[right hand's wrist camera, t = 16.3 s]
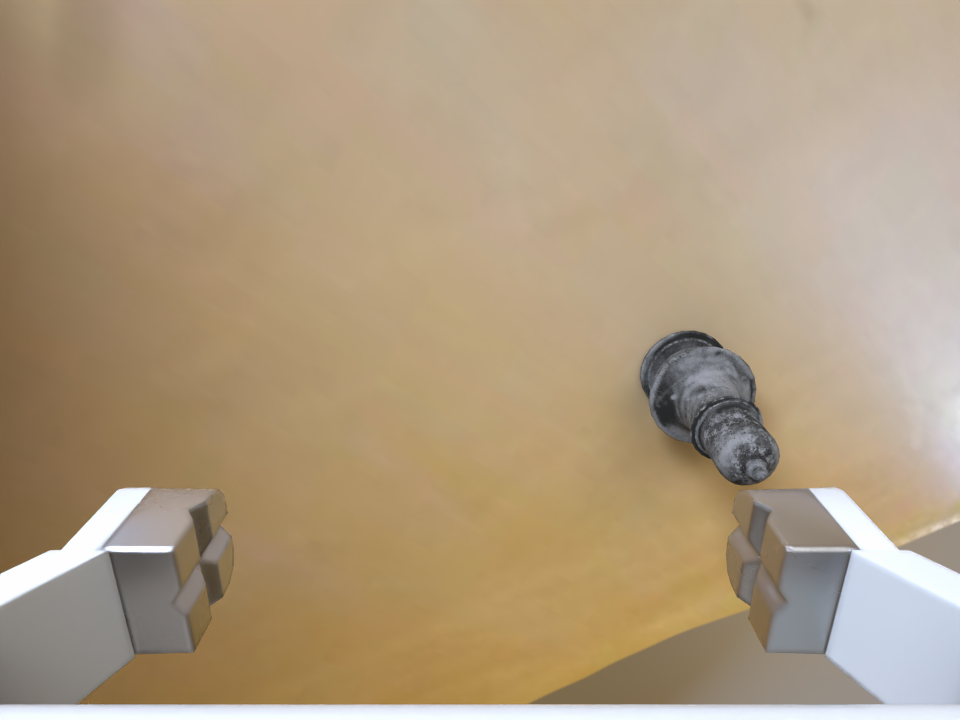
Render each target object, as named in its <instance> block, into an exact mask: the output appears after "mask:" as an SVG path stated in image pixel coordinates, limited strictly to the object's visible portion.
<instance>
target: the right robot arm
mask: <svg viewBox="0 0 960 720" xmlns="http://www.w3.org/2000/svg"><path fill="white" fill-rule="evenodd" d="M227 513H228V512H227V507H226V502H225V497H224V494H223V493H222V492H221V491H220V490H219V489H188V488H156V489H155V488H123V489H119V490H117V491H116V492H115V493H114V494H113V495H112V496H111V497H110V498H109V499H108V501H107V502H106V503H105V504H104V505H103V506H102V507H101V508H100V509H99V510H98V511H97V512H96V513H95V514H94V515H93V517H92V518H91V519H90V520H89V521H88V522H87V523H86V524H85V525H84V526H83V527H82V528H81V529H80V530H79V531H78V533H77V534H76V535H75V536H74V537H73V538H72V539H71V540H70V541H69V542H68V543H67V544H66V545H65V546H64V547H63V549H62V550H50V551H48V552H46V553H43V554H41V555H39V556H37V557H35V558H33V559H31V560H29V561H26V562H24V563H22V564H20V565H18V566H16V567H14V568H11V569H9V570H7V571H5V572H3V573H1V574H0V720H960V574H959V573H957V572H955V571H953V570H950V569H948V568H946V567H944V566H942V565H940V564H938V563H936V562H934V561H931V560H929V559H927V558H925V557H923V556H921V555H919V554H917V553H914V552H912V551H910V550H898V549H897V547H896V546H895V545H894V544H893V543H892V542H891V541H890V540H889V539H888V538H887V537H886V536H885V535H884V534H883V532H882V531H881V530H880V529H879V528H878V527H877V526H876V525H875V524H874V523H873V522H872V521H871V520H870V519H869V518H868V516H867V515H866V514H865V513H864V512H863V511H862V510H861V509H860V508H859V507H858V506H857V505H856V504H855V503H854V502H853V500H852V499H851V498H850V497H849V496H848V495H847V494H846V493H845V492H844V491H843V490H841V489H838V488H836V487H828V488H803V489H769V490H739V491H738V493H737V496H736V498H735V501H734V506H733V512H732V513H733V515H734V516H735V518H736V520H737V521H738V523H739V526H738V527H737V528H736V529H735V530H734V531H733V532H732V533H731V534H730V535H729V536H728V543H727V551H726V561H727V572H728V576H729V579H730V582H731V585H732V588H733V590H734V592H735V594H736V596H737V597H738V598H739V599H741V600H742V601H744V602H745V603H747V604H748V605H750V611H749V617H748V619H749V621H750V623H751V625H752V627H753V629H754V630H755V632H756V634H757V636H758V638H759V640H760V642H761V644H762V646H763V648H764V649H765V651H766V652H768V653H804V654H825V657H826V658H827V659H828V660H830V661H831V662H832V663H833V664H835V665H836V666H837V667H838V668H839V669H841V670H842V671H843V672H844V673H846V674H847V675H848V676H849V677H850V678H852V679H853V680H854V681H855V682H857V683H858V684H859V685H860V686H862V687H863V688H864V689H865V690H867V691H868V692H869V693H870V694H871V695H873V696H874V697H875V698H876V699H878V700H879V701H880V702H881V703H883V704H78V703H79V702H80V701H81V700H83V699H84V698H85V697H86V696H88V695H89V694H90V693H91V692H92V691H94V690H95V689H96V688H97V687H99V686H100V685H101V684H102V683H104V682H105V681H106V680H107V679H109V678H110V677H111V676H112V675H113V674H115V673H116V672H117V671H118V670H120V669H121V668H122V667H123V666H125V665H126V664H127V663H128V662H130V661H131V660H132V659H133V658H134V657H135V654H155V653H190V652H194V651H195V650H196V648H197V646H198V644H199V642H200V640H201V638H202V636H203V634H204V632H205V630H206V629H207V627H208V625H209V623H210V621H211V619H212V617H211V611H210V605H212V604H213V603H215V602H216V601H218V600H219V599H221V598H222V597H223V596H224V594H225V592H226V589H227V587H228V585H229V583H230V579H231V574H232V570H233V565H234V548H233V542H232V536H231V535H230V534H229V533H228V532H227V531H226V530H225V529H224V528H223V527H222V526H221V523H222V521H223V520H224V518H225V516H226V515H227Z"/></svg>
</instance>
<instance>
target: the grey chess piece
mask: <svg viewBox="0 0 960 720" xmlns="http://www.w3.org/2000/svg"><path fill="white" fill-rule="evenodd" d="M640 378H641V383H642V388H643V390H644V391H645V393H646V395H647V397H648V398H649V405H650V410H651V415H652V417H653V418H654V420H655V422H656V424H657V425H658V427H659V428H660V429H661V430H663V431H664V432H665V433H666V434H667V435H669V436H671V437H673V438H674V439H676V440H679V441H684V442H688V443H693V445H694V447H695V449H696V450H697V451H698V452H699V453H700V454H701V455H703V456H705V457H707V458H709V459H712V461H713V462H714V464H715V466H716V467H717V469H718V470H719V472H720V473H721V474H722V475H723V476H724V477H725V478H726V479H727V480H728V481H730V482H732V483H734V484H738V485H753V484H757V483H759V482H761V481H764V480H765V479H766V478H768V477H769V476H770V475H771V474H772V473H773V471H774V470H775V468H776V466H777V464H778V462H779V457H780V454H779V448H778V445H777V443H776V441H775V439H774V438H773V437H772V436H771V435H770V434H769V432H768V431H767V430H766V429H765V428H764V427H763V419H762V415H761V413H760V411H759V409H758V407H757V406H756V405H755V404H754V401H755V394H756V385H755V378H754V375H753V373H752V371H751V369H750V367H749V365H748V364H747V363H746V362H745V361H744V360H743V359H742V358H741V357H740V356H738V355H736V354H735V353H733V352H731V351H729V350H727V349H723V347H722V346H721V345H720V344H719V343H718V342H717V341H716V340H715V339H714V338H712V337H711V336H709V335H707V334H705V333H701V332H697V331H681V332H677V333H673V334H670V335H668V336H666V337H665V338H663V339H661V340H660V341H658V342H657V343H656V344H655V345H654V346H653V347H652V348H651V349H650V350H649V352H648V353H647V355H646V356H645V358H644V361H643V364H642V367H641V376H640Z"/></svg>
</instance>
